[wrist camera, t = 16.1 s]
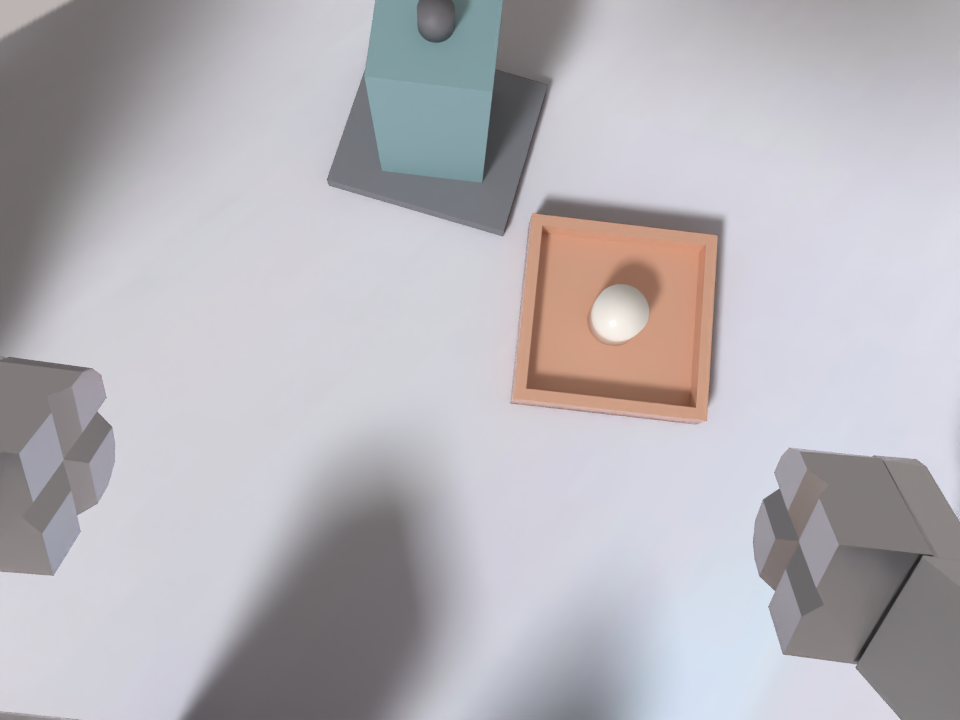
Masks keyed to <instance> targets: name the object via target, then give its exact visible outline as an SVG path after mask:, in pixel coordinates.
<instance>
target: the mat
mask: <svg viewBox="0 0 960 720" xmlns="http://www.w3.org/2000/svg"><path fill="white" fill-rule="evenodd" d="M365 69H366V68H365ZM364 75H365V71H364V74H363V77H362V80H361V83H360V86H359V88H358V91H357V94H356V97H355V100H354V103H353V106H352V109H351V112H350V114H349V117H348V120H347V123H346V126H345V129H344V132H343V135H342V138H341V140H340V143H339V146H338V149H337V152H336V155H335V158H334V161H333V164H332V166H331V169H330V172H329V175H328V178H327V181H328V184H329V186H333V187H336V188H340V189H343V190H347V191H350V192H353V193H357V194H360V195H364V196H367V197H371V198H374V199H377V200H381V201H384V202H388V203H391V204H394V205H398V206H401V207H405V208H408V209H412V210H415V211H418V212H422V213H425V214H429V215H432V216H436V217H439V218H442V219H446V220H449V221H453V222H456V223H460V224H463V225H466V226H470V227H473V228H477V229H480V230H483V231H487V232H490V233H494V234H497V235H501V236H503V233H504V230H505V227H506V223H507V220H508V217H509V213H510V210H511V207H512V203H513V200H514V197H515V193H516V190H517V187H518V183H519V180H520V177H521V173H522V170H523V167H524V163H525V160H526V157H527V153H528V150H529V147H530V143H531V140H532V136H533V133H534V130H535V126H536V123H537V120H538V116H539V113H540V110H541V106H542V103H543V100H544V96H545V93H546V89H547V84H543V83H540V82H537V81H533V80H530V79H526V78H523V77H519V76H516V75H512V74H509V73H505V72H502V71H499V70H495V75H494V84H493V92H492V101H491V110H490V119H489V127H488V136H487V145H486V153H485V162H484V171H483V179H482V183H480V182H471V181H463V180H454V179H446V178H438V177H429V176H421V175H412V174H404V173H396V172H387V171H382V169H381V163H380V158H379V152H378V147H377V142H376V136H375V131H374V125H373V120H372V115H371V109H370V104H369V99H368V93H367V88H366V82H365V77H364Z"/></svg>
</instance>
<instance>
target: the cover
mask: <svg viewBox="0 0 960 720" xmlns="http://www.w3.org/2000/svg"><path fill="white" fill-rule="evenodd" d="M502 5H503V0H375V6H374V13H373V20H372V27H371V34H370V41H369V48H368V55H367V62H366V69H365V75H364V77H365V82H366V88H367V93H368V99H369V104H370V109H371V115H372V120H373V125H374V131H375V136H376V142H377V147H378V152H379V158H380V163H381V169H382V171H387V172H396V173H404V174H412V175H421V176H429V177H438V178H446V179H454V180H463V181H471V182H480V183H482V179H483V171H484V162H485V153H486V145H487V136H488V127H489V119H490V110H491V101H492V92H493V84H494V75H495V66H496V57H497V49H498V40H499V31H500V22H501V13H502Z"/></svg>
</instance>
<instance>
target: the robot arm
mask: <svg viewBox="0 0 960 720" xmlns="http://www.w3.org/2000/svg"><path fill="white" fill-rule="evenodd" d="M106 398H107V397H106V393H105V389H104V385H103V381H102V376H101V374H99V373H98V372H97V371H95V370H94V369H92V368H86V367H79V366H72V365H64V364H57V363H49V362H42V361H35V360H27V359H20V358H12V357H8V358H5V357H2V356H0V571H2V572H15V573H27V574H39V575H52V576H54V574H55V573H56V571H57V569H58V568H59V566H60V564H61V563H62V561H63V560H64V558H65V556H66V555H67V553H68V551H69V550H70V548H71V547H72V545H73V543H74V542H75V540H76V538H77V537H78V535H79V533H80V532H81V531H80V526H79V522H78V518H77V515H78V514H80V513H82V512H84V511H85V510H87V509H89V508H91V507H92V506H94V505H96V504H98V502H99V500H100V499H101V497H102V495H103V493H104V492H105V490H106V488H107V486H108V484H109V480H110V477H111V473H112V470H113V466H114V462H115V440H114V434H113V429H112V426H111V425H110V424H109V423H108V422H107V421H106V420H105V419H104V418H103V417H102V416H101V415H100V414H99V413H98V412H97V411H98V409H99V408H100V406H101V405H102V403H103V402H104V400H105V399H106ZM774 473H775V476H776V479H777V482H778V485H779V488H780V489H778V490H777V491H775V492H774V493H772V494H771V495H769V496H768V497H766V498H765V499H763V501H762V503H761V506H760V509H759V511H758V514H757V517H756V520H755V527H754V537H753V548H754V558H755V562H756V566H757V569H758V573H759V576H760V577H761V578H762V579H763V580H764V581H765V582H766V583H767V584H768V585H769V586H770V587H771V588H772V589H773V590H775V593H774V595H773V597H772V600H771V602H770V604H769V606H768V607H769V610H770V614H771V617H772V620H773V623H774V627H775V630H776V633H777V636H778V640H779V643H780V646H781V650H782V653H783V654H784V655H792V656H799V657H806V658H814V659H821V660H829V661H836V662H843V663H851V664H857V666H856V667H855V668H856V669H857V670H858V671H859V672H860V673H861V675H862V676H863V677H864V678H865V679H866V680H867V681H868V683H869V684H870V685H871V686H872V687H873V688H874V689H875V691H876V692H877V693H878V694H879V695H880V696H881V697H882V698H883V700H884V701H885V702H886V703H887V704H888V705H889V706H890V708H891V709H892V710H893V711H894V712H895V713H896V714H897V716H898V717H899V718H900V719H901V720H960V522H959V520H958V519H957V517H956V515H955V514H954V512H953V510H952V509H951V507H950V505H949V504H948V502H947V500H946V499H945V497H944V495H943V494H942V492H941V490H940V489H939V487H938V485H937V484H936V482H935V480H934V479H933V477H932V475H931V474H930V472H929V470H928V469H927V467H926V466H925V465H924V464H922V463H921V462H919V461H918V460H917V459H908V458H896V457H885V456H872V457H870V456H862V455H853V454H843V453H834V452H825V451H816V450H806V449H797V448H788V450H787V451H786V452H785V453H784V454H783V455H782V456H781V458H780V460H779V463H778V465H777V467H776V470H775V472H774ZM0 720H79V719H69V718H60V717H50V716H41V715H31V714H21V713H12V712H2V711H0Z"/></svg>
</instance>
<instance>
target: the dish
mask: <svg viewBox="0 0 960 720" xmlns="http://www.w3.org/2000/svg"><path fill="white" fill-rule="evenodd" d="M717 241H718V235H711V234H702V233H694V232H686V231H677V230H669V229H660V228H652V227H643V226H635V225H627V224H618V223H610V222H601V221H593V220H584V219H576V218H568V217H559V216H551V215H542V214H534V213H532V216H531V219H530V223H529V229H528V238H527V248H526V258H525V268H524V277H523V287H522V297H521V307H520V316H519V326H518V336H517V346H516V355H515V365H514V375H513V385H512V394H511V403H514V404H522V405H531V406H540V407H549V408H558V409H566V410H575V411H584V412H593V413H602V414H611V415H619V416H628V417H637V418H646V419H655V420H663V421H672V422H681V423H690V424H699V423H702V422H705V421H707V412H708V395H709V378H710V361H711V343H712V326H713V309H714V292H715V275H716V258H717Z"/></svg>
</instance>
